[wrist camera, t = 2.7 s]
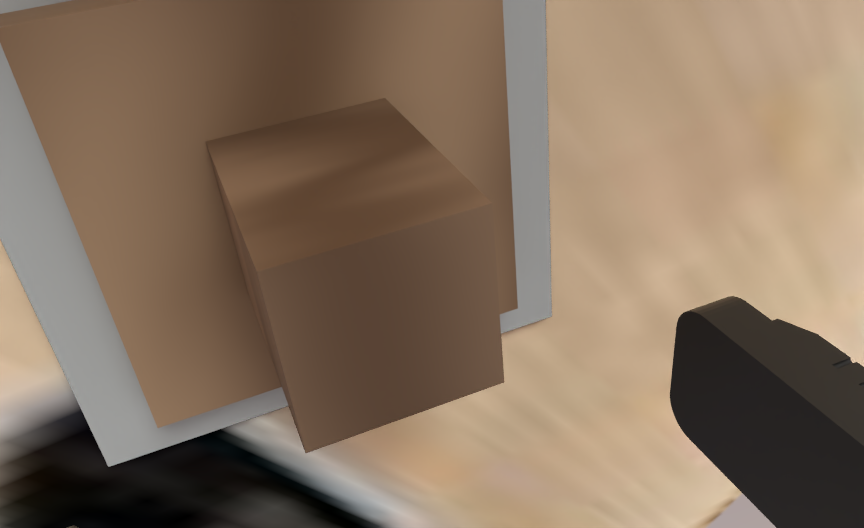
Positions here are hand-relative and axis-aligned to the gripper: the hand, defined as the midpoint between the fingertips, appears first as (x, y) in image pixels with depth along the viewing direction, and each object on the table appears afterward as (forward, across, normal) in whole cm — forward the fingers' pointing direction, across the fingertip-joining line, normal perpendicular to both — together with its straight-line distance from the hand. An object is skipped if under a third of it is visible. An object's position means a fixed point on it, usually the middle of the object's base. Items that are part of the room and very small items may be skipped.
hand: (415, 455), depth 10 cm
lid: (+8, -1, 0) cm, 9 cm away
